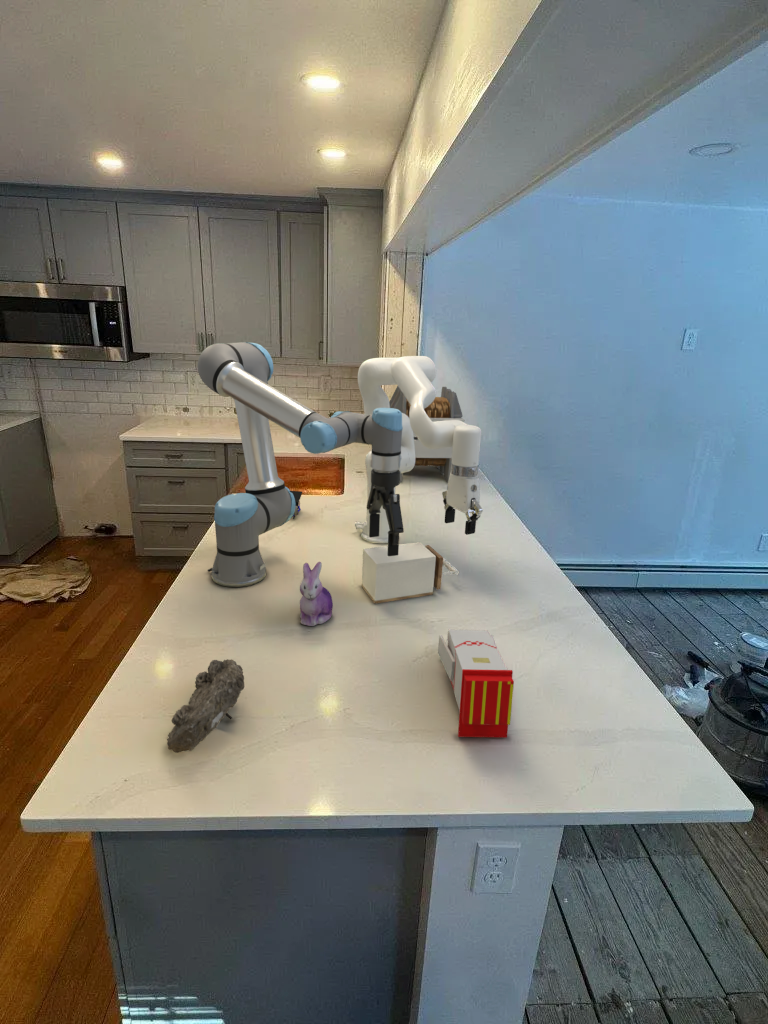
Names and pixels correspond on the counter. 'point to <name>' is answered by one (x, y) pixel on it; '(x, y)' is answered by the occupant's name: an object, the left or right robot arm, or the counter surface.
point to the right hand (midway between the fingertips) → (459, 528)
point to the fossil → (206, 705)
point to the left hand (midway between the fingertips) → (383, 545)
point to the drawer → (438, 568)
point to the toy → (478, 682)
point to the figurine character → (296, 501)
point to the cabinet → (398, 572)
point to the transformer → (436, 411)
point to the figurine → (314, 598)
